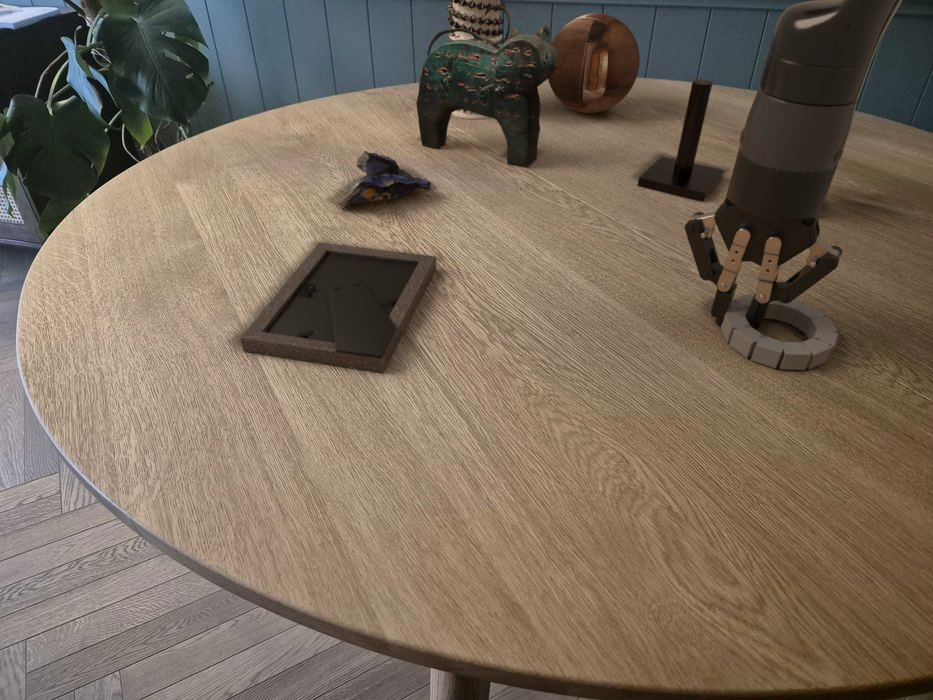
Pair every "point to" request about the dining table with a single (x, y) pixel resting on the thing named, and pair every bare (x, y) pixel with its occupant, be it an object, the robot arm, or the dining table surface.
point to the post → (686, 155)
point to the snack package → (381, 180)
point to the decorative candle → (474, 29)
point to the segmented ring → (774, 350)
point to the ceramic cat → (487, 86)
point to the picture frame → (343, 307)
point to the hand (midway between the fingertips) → (734, 323)
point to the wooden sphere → (594, 63)
